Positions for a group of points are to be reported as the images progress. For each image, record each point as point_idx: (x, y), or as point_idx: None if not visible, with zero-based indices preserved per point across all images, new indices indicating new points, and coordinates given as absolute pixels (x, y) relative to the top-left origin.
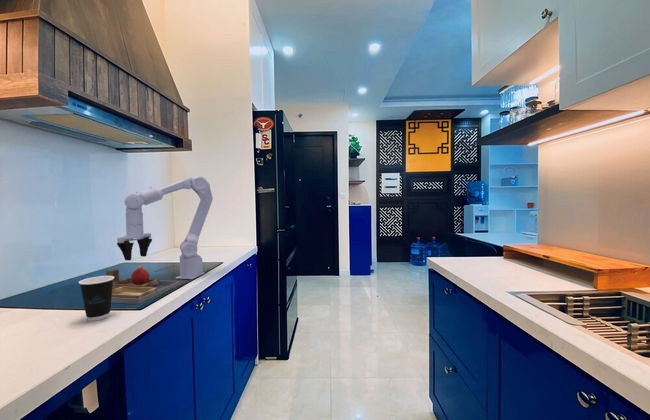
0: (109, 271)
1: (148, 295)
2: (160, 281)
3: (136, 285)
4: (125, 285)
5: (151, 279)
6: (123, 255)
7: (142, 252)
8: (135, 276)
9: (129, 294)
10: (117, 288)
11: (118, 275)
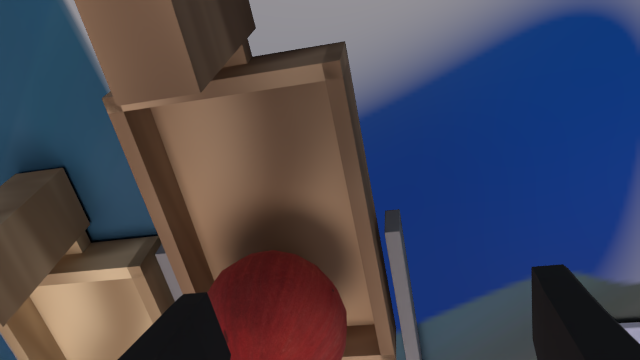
0: (97, 46)
1: None
2: (405, 351)
3: None
4: (170, 258)
5: (373, 317)
6: (128, 350)
7: (556, 357)
8: None
9: (142, 329)
10: (90, 278)
11: (221, 65)
